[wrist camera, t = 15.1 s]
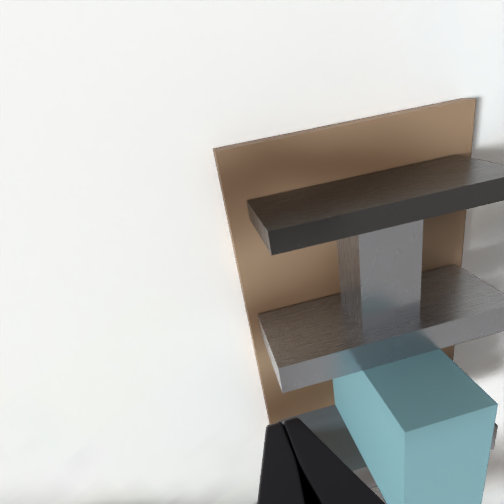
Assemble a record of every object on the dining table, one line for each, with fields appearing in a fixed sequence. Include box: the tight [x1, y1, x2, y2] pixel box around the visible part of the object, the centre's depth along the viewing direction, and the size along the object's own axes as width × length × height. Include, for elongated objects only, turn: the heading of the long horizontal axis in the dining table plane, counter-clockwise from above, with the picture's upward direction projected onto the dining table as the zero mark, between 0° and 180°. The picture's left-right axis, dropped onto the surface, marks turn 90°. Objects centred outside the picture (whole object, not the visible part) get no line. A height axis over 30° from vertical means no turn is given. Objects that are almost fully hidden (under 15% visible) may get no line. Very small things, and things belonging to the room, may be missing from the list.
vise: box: [213, 99, 498, 488], centre depth 20 cm, size 20×13×6 cm, turn 9°
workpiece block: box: [333, 349, 498, 504], centre depth 19 cm, size 7×4×8 cm, turn 9°
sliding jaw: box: [246, 155, 504, 393], centre depth 18 cm, size 8×12×4 cm, turn 100°
